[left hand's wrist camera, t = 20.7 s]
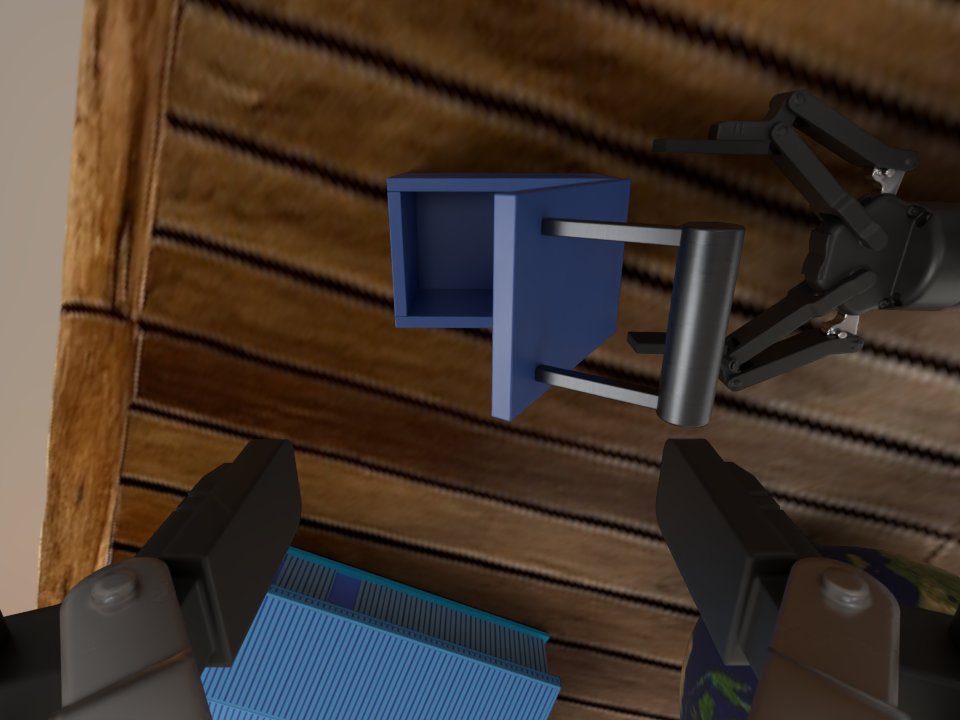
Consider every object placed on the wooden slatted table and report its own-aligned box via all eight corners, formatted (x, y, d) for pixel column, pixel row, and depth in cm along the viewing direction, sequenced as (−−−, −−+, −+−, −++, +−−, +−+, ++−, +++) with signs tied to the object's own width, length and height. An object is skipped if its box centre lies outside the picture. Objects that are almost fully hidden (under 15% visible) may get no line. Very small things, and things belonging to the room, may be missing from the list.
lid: (491, 416, 24) (693, 473, 20) (493, 193, 21) (741, 204, 16) (601, 329, 36) (742, 353, 32) (614, 178, 33) (776, 182, 28)
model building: (154, 672, 61) (96, 765, 52) (204, 512, 53) (145, 590, 44) (464, 762, 67) (462, 860, 58) (552, 631, 59) (566, 721, 49)
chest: (411, 295, 45) (395, 327, 37) (405, 172, 41) (386, 177, 33) (583, 295, 45) (606, 328, 37) (593, 172, 41) (621, 178, 33)
